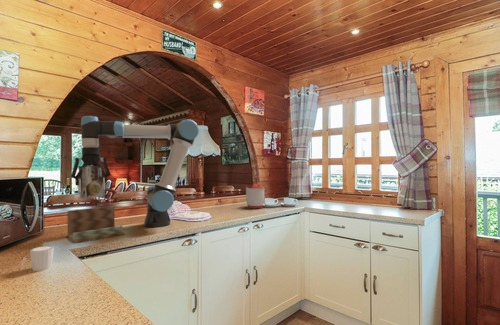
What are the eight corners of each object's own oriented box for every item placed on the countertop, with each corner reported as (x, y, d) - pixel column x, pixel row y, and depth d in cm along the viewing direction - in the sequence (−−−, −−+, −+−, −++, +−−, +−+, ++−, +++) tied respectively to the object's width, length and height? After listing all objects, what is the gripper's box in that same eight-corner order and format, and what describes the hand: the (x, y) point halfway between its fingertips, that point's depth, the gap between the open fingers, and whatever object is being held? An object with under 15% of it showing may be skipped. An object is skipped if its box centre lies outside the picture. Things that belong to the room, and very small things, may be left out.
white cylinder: (28, 268, 99) (28, 248, 99) (52, 263, 104) (52, 244, 104) (31, 273, 94) (31, 252, 94) (55, 268, 99) (55, 248, 99)
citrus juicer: (254, 205, 240) (254, 182, 240) (268, 207, 227) (268, 183, 227) (240, 207, 230) (240, 183, 230) (254, 210, 217) (254, 184, 217)
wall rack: (113, 228, 157) (113, 205, 157) (124, 234, 144) (123, 209, 144) (67, 236, 142) (67, 210, 142) (74, 243, 129) (74, 215, 129)
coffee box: (96, 196, 146) (95, 165, 146) (104, 196, 143) (103, 165, 143) (78, 198, 138) (78, 165, 138) (86, 199, 135) (85, 165, 135)
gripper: (111, 147, 151) (113, 188, 151) (62, 147, 135) (63, 192, 135) (116, 147, 146) (117, 189, 146) (65, 146, 130) (67, 193, 130)
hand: (91, 191), depth 141 cm, fingers closed on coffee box, 10 cm apart
